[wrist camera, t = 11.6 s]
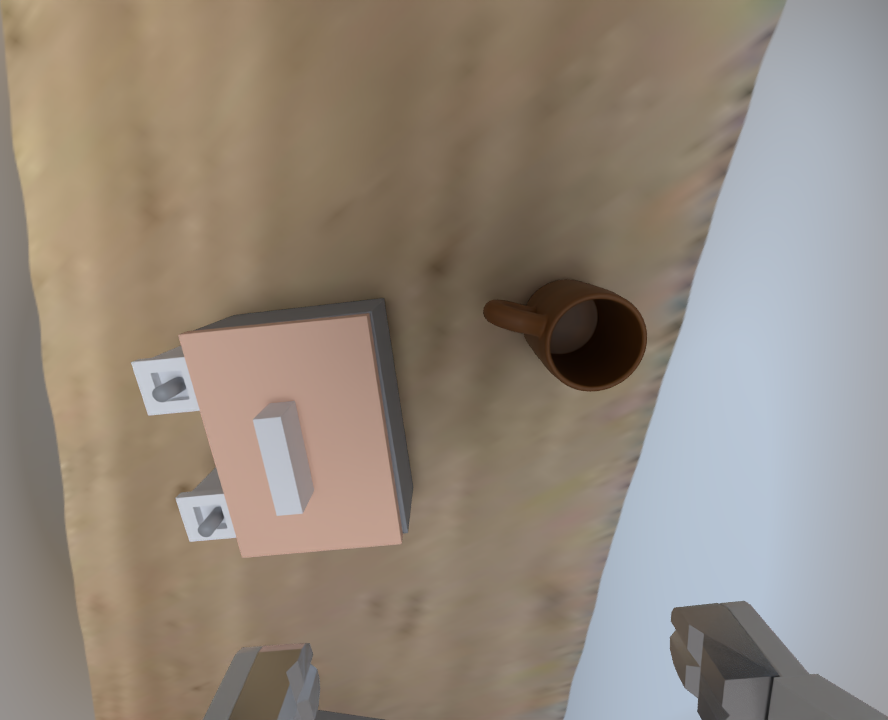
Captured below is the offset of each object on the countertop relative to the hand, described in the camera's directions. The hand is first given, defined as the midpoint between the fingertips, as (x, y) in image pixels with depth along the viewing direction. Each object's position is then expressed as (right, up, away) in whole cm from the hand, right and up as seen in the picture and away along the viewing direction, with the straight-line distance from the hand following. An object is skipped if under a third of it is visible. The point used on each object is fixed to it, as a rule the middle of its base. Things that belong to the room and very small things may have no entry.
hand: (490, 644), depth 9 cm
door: (-15, 0, +25) cm, 29 cm away
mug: (+8, +11, +30) cm, 32 cm away
